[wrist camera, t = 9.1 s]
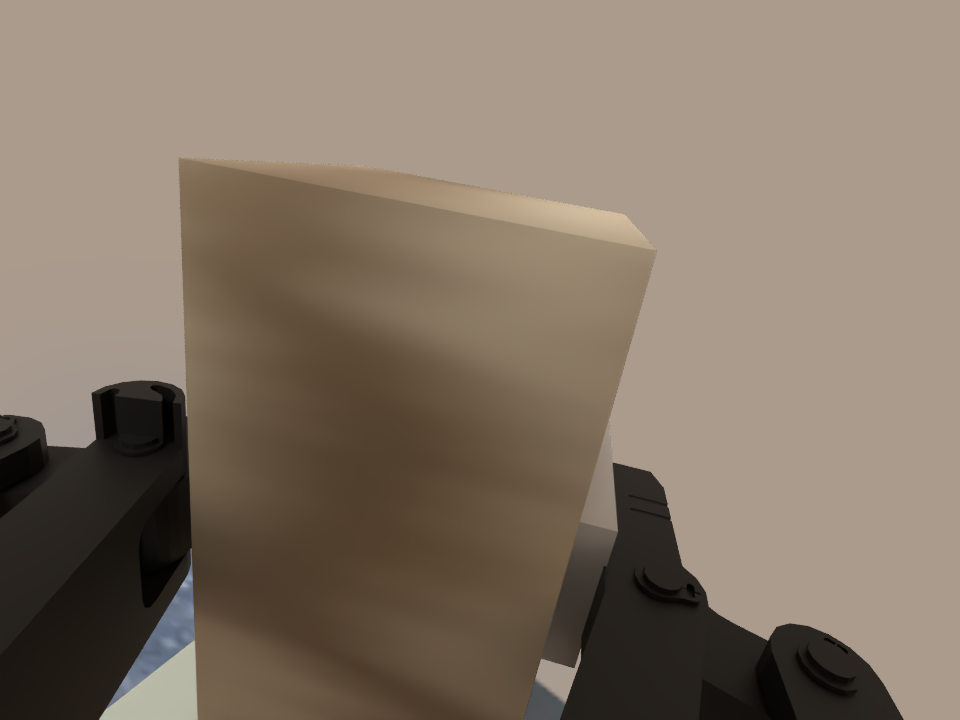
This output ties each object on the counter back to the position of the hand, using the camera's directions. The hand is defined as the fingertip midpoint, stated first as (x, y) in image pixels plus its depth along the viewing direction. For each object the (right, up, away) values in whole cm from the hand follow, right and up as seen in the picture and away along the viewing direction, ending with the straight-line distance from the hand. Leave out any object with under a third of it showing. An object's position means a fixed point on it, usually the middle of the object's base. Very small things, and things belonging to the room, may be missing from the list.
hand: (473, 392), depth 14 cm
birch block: (-2, -8, -2) cm, 8 cm away
